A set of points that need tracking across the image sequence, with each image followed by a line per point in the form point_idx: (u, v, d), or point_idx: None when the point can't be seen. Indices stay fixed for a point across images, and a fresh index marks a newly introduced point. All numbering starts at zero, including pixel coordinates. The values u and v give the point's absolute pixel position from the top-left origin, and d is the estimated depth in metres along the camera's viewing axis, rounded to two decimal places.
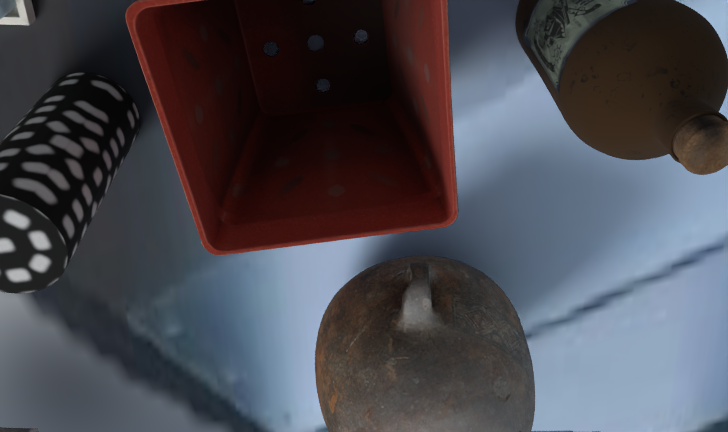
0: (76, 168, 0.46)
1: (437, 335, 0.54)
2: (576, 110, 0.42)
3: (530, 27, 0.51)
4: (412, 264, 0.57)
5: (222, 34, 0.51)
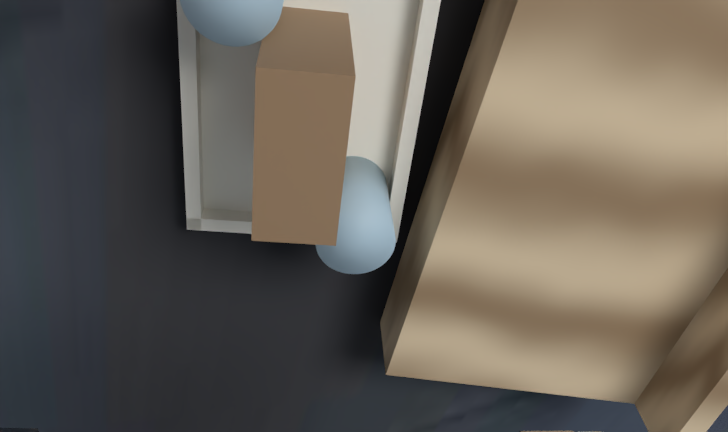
0: None
1: None
2: None
3: None
4: None
5: None
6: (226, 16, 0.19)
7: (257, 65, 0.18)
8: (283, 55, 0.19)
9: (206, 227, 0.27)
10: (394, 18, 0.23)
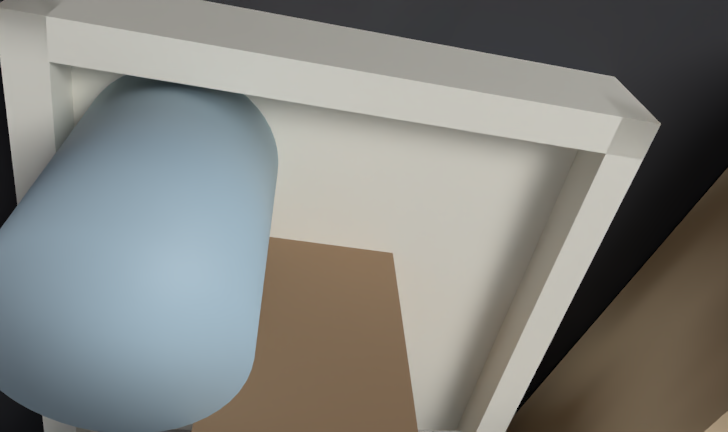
0: None
1: None
2: None
3: None
4: None
5: None
6: (98, 379, 0.07)
7: None
8: None
9: None
10: (483, 265, 0.12)
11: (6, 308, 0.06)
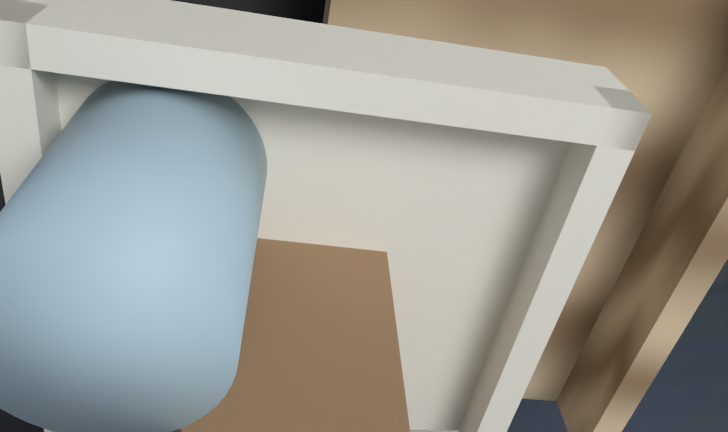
0: None
1: None
2: None
3: None
4: None
5: None
6: (84, 387, 0.07)
7: None
8: None
9: None
10: (479, 261, 0.11)
11: None
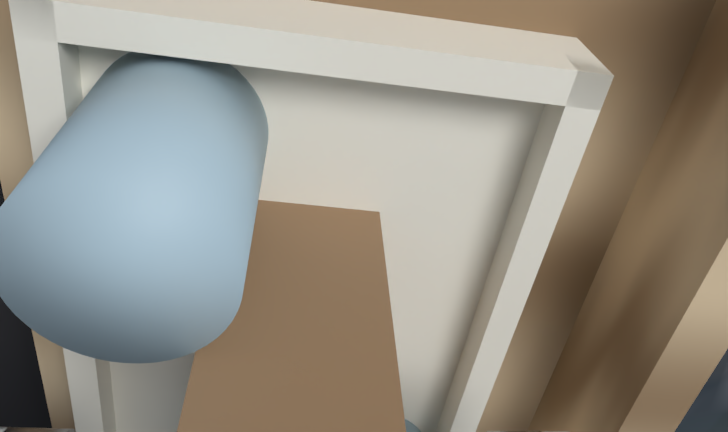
0: None
1: None
2: None
3: None
4: None
5: None
6: (109, 312, 0.08)
7: None
8: (241, 414, 0.08)
9: None
10: (465, 220, 0.12)
11: (27, 247, 0.07)
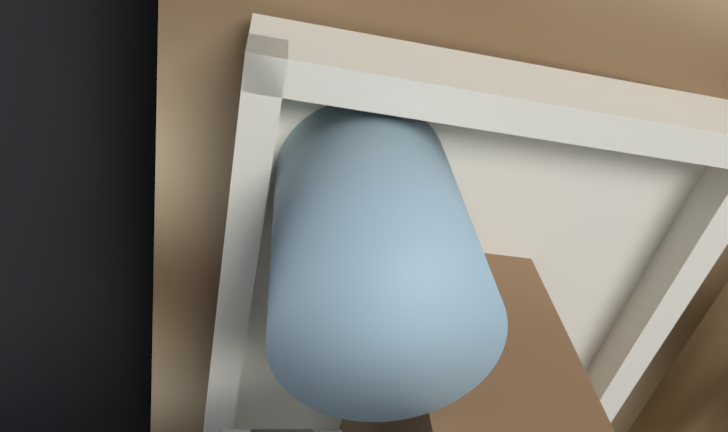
0: None
1: None
2: None
3: None
4: None
5: None
6: (367, 376, 0.08)
7: None
8: None
9: None
10: (608, 267, 0.13)
11: (313, 316, 0.07)
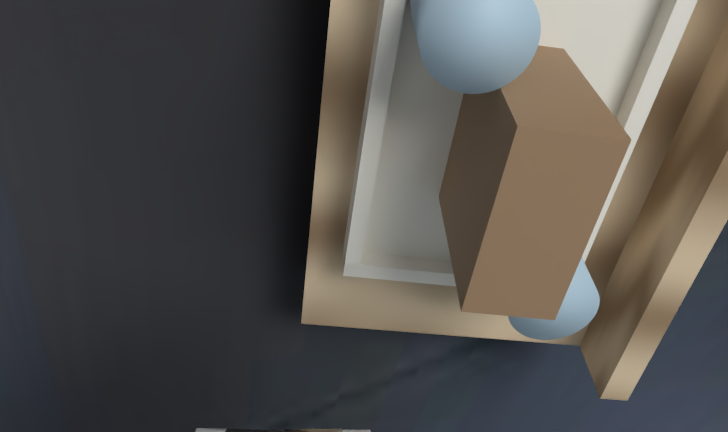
0: None
1: None
2: None
3: None
4: None
5: None
6: (468, 59, 0.16)
7: (518, 123, 0.15)
8: (536, 108, 0.16)
9: (364, 274, 0.24)
10: (615, 55, 0.20)
11: (443, 18, 0.15)
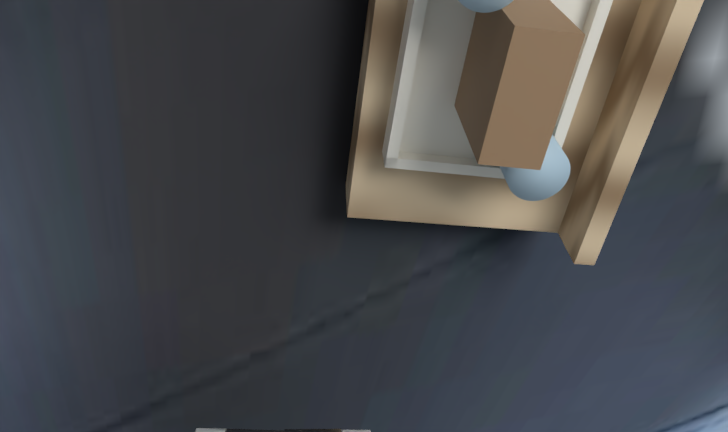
0: None
1: None
2: None
3: None
4: None
5: None
6: None
7: (515, 24, 0.24)
8: (525, 19, 0.25)
9: (400, 166, 0.33)
10: None
11: None
